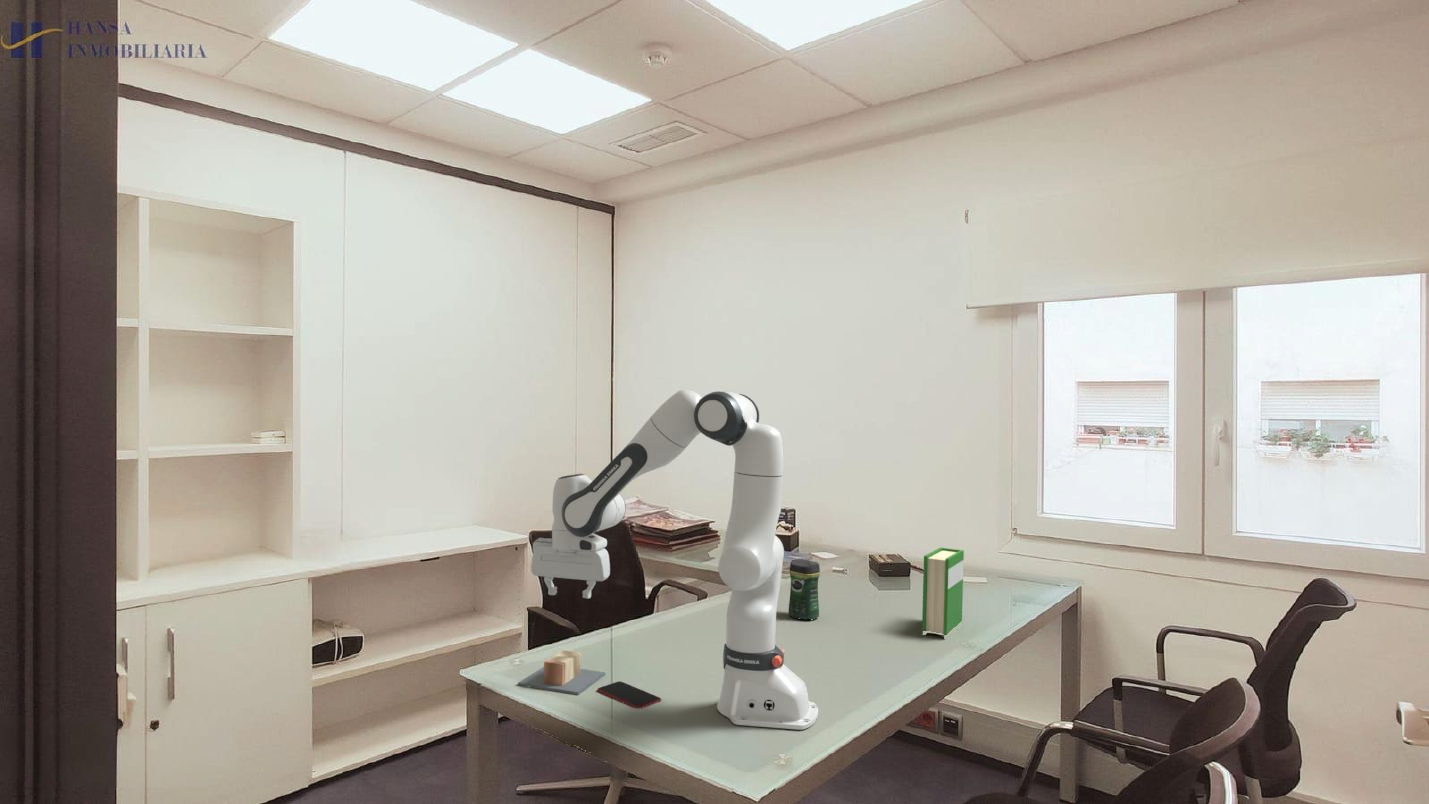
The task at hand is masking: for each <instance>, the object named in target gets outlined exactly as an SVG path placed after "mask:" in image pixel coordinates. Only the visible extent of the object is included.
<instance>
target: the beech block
mask: <svg viewBox="0 0 1429 804" xmlns="http://www.w3.org/2000/svg"><path fill="white" fill-rule="evenodd" d="M581 659H582V653H581V652H577V651H571V650H570V651H569V650H561V651H559V652H558V653H556V654H555V655H553V656H550V658H547V660H544V661H543V667H544V683H548V684H554V685H561V686H563V685H564V684H565V683H567V682H568V681H570V680H571V679H573V678H574V677H576V676H577V675H578V674H580V669H582V667H581V664H582V660H581Z"/></svg>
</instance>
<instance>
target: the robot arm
mask: <svg viewBox="0 0 1429 804" xmlns="http://www.w3.org/2000/svg"><path fill="white" fill-rule="evenodd" d="M759 421H760V411H759V409H758V405H757V404H756V402H755V401H754V400H753V399H752V398H751V397H749V396H747V395H745V394H742V393H738V392H734V391H730V390H729V391H728V390H727V391H726V390H725V391H712V392H710V393H707V394H706V395H704V396H701V395H700V394H699V393H697V392H696V391H693V390H690V389H686V388H685V389H680V390H678V391H676V393H674V394H672V395H671V396H670V397H669V398H667V400H665V402H663V403H662V404H661V405H660V406H659V407H658V408H657V409H656V411H655V412H654V413H652V415H651V416H650V418H648V420H647V421H645V423H644V424H643V425H642V427H641V428H640V429H639V430H638V432H637V433H636V434H635V435H634V437H633V438H632V439H630V441H628V443H627V444H626V446H625V447H624V448H623V449H622V450H621V451H620V452H619V453H618V454H617V455H616V456H615V457H614V458H613V459H612V460H611V461H610V462H609V463H608V465H607V466H605V468H604V469H602V471H600V473H598V475H597V476H596V477H595V478H594V479H593V480H592V479H590V477H588V476H587V475H586V474H584V473H578V474H577V473H576V474H568V475H564V476H560V477H558V478H557V479H556V481H555V483H554V486H553V491H552V492H553V493H552V505H551V507H552V511H551V512H552V515H553V523H552V526H551V529H552V530H551V531H552V532H551V538H544V537H538V538H537V539H535V540H534V541H533V543H532V557H531V563H530V572H531V574H532V575H533V576H535V577H543V578H544V579H543V580H544V584H545V585H546V587H547V589H548V591H547V592H548V595H550V596H555V595H557V593H558V591H557V590H558V586H555V584H554V583H553V582H554V581H553V580H554V578H559V579H568V580H569V579H570V580H582V581H586V585H587V587H586V589H584V590H582V598H583V599H591V597H592V590H593V589H594V587H595V585H596V583H597V582H603V581H605V580H607V579H608V578H609V576H610V575H611V563H610V555H609V552H608V550H607V549H606V547H607V545H608V540H607V538H604V537H602V536H600V535H598V534H596V533H597V532H601V531H603V530H606V529H609V528H612V527H615V526H616V525H618V524H619V523H621V522H622V521H623V519H624V517H625V515H626V502H625V498H623V496H622V494H621V492H622V491H623V490H624V489H625V488H626V487H627V486H628V484H630V483H631V482H632V481H633V480H635V479H637V478H638V477H640V476H642V475H645V474H647V473H649V472H652V471H654V470H657V469H660V468H662V467H665V466H668V465H669V464H671V462H673V461H674V460H675V459H677V458H678V457H679V456H680V455H681V454H682V453H683V452H684V450H686V448H688V447H689V445H690V444H691V443H692V442H693V440H694V439H695V438H696V437H697V436H698V435H700V434H702V435H704V436H705V437H707V438H709V439H710V440H713V441H715V442H718V443H720V444H723V445H724V446H728V447H729V446H732V447H733V449H734V455H735V457H734V460H735V461H734V472H733V484H732V486H733V487H732V501H731V508H730V514H729V519H728V523H727V527H726V532H725V538H724V542H723V546H722V547H723V548H722V552H721V555H720V558H719V560H718V564H717V565H718V573H719V576H720V579H721V580H722V582H723V583H724V584H725V585H726V586H727V587H728V588H730V589H731V594H730V598H729V602H728V604H727V610H726V629H725V630H726V631H725V632H726V635H725V637H726V638H725V643H724V645H723V653H722V655H723V656H722V665H723V670H724V671H723V679H722V680H723V681H722V685H721V691H720V695H719V699H718V702H717V705H716V708H717V711H718V712H719V713H720V714H722V715H723V716H725V717H727V718H728V719H729V720H730V721H731V722H732V724H734V725H737V726H745V727H746V726H748V727H761V728H771V729H772V728H773V729H784V730H785V729H786V730H787V729H788V730H799V731H801V730H805V729H808V728H811V726H813V725H814V724H815V723H816V721H817V720H818V717H819V708H818V705H817V704H816V703H815V702H813V701H810V699H809V694H808V688H807V686H806V683H805V682H804V680H802V679H801V678H800V677H799V676H798V675H796V674H795V673H794V672H793V670H790V669H789V668H788V666H787V665H785V664H784V661H785V658H784V657H785V656H784V655H785V648H783V649H782V650H781V649H780V648H779V646H777V645H776V630H777V629H776V628H777V626H776V625H777V610H778V608H777V607H778V602H779V601H778V600H779V595H780V589H781V583H782V582H781V581H782V573H783V572H782V571H783V563H784V562H783V561H784V556H785V549H784V548H785V547H784V544H783V542H782V541H781V539H780V538H779V537H778V536H777V534H776V532H777V531H776V530H777V527H778V522H779V517H780V514H781V512H782V503H783V502H782V501H783V487H784V486H783V485H784V470H785V462H784V461H785V459H784V446H783V445H784V444H783V438H782V434H781V432H780V431H779V430H778V429H777V428H775V427H774V426H772V425H770V424H765V423H760V422H759ZM816 719H817V720H816Z"/></svg>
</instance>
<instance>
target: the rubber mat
mask: <svg viewBox="0 0 1429 804" xmlns="http://www.w3.org/2000/svg"><path fill="white" fill-rule="evenodd" d="M605 675H606V672H604V671H598V670H597V671H596V670H591V669H584V668H580V674H578V675H577V676H576V677H574V678H573V679H571V680H570V681H568V682H567V683H565V684H564V685H563V686H561V685H554V684H548V683H544V666H543V667H541V668H539V669H538V670H536V671H534V672H533V673H531V674H530V675H528V676H527V677H525V678H523V679H522V680H520V681H518V682H517V686H520V685H521V686H520V687H526V686H530V687H529V688H532V687H534V689H538V688H540V689H539V690H545V691H546V690H547V691H553V692H558V693H563V694H564V693H565V694H570V695H576V696H577V695H578V696H579V695H580V694H581V693H583V692H584V691H585V690H587V689H588V688H589V687H591V686H592V685H594V684H595V683H596V682H598V680H600V679H602V678H603V677H604V676H605ZM601 677H602V678H601Z"/></svg>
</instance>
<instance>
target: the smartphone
mask: <svg viewBox="0 0 1429 804" xmlns="http://www.w3.org/2000/svg"><path fill="white" fill-rule="evenodd" d="M597 692H598V693H600V694H602V695H604V694H605V695H604V696H606V695H607V696H606V697H609V696H610V697H609V698H611V697H612V698H611V699H613V698H614V699H613V700H616V701H618V702H620V703H623V702H624V703H623V704H625V703H626V704H625V705H627V704H628V705H627V706H629V705H630V706H629V707H632V706H633V707H632V708H634V707H635V709H636V708H642V709H643V707H644V708H647V707H649V705H650V706H652V705H654V703H655V704H657V702H658V703H660V702H662V697H660V696H657V695H654V694H652V693H649V692H647V691H646V690H643V689H640V688H638V687H635V686H633V685H630V684H628V683H626V682H623V681H616V682H612V683H610V684H607V685H603V686H601V687H598V688H597ZM651 704H652V705H651ZM646 706H647V707H646Z"/></svg>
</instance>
